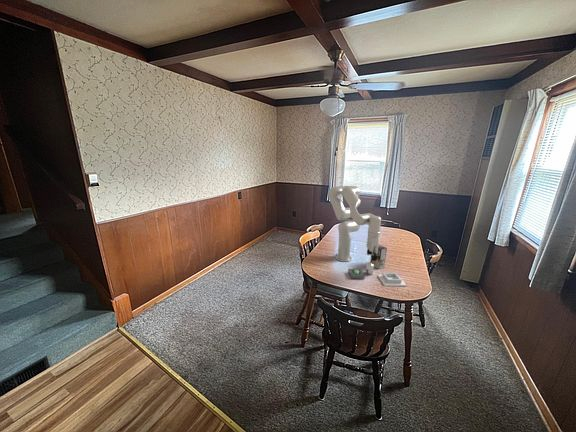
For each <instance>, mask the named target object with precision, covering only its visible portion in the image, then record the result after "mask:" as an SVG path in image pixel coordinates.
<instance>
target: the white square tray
mask: <svg viewBox="0 0 576 432" xmlns="http://www.w3.org/2000/svg"><path fill="white" fill-rule="evenodd" d="M377 277H378V279H379V280H380V282H381V284H383V286H385V287H386V286H387V287H406V286H407V284H406V283H405V281H404V280H403V279H402V278H401V277H400V275H398V274H397V272H382V274H377Z"/></svg>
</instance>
